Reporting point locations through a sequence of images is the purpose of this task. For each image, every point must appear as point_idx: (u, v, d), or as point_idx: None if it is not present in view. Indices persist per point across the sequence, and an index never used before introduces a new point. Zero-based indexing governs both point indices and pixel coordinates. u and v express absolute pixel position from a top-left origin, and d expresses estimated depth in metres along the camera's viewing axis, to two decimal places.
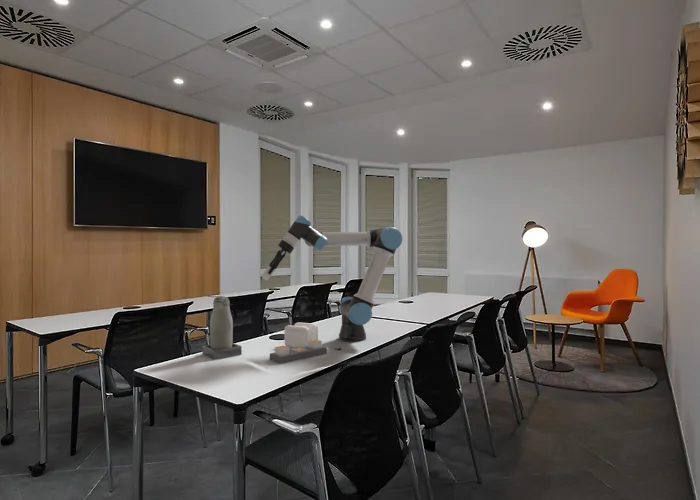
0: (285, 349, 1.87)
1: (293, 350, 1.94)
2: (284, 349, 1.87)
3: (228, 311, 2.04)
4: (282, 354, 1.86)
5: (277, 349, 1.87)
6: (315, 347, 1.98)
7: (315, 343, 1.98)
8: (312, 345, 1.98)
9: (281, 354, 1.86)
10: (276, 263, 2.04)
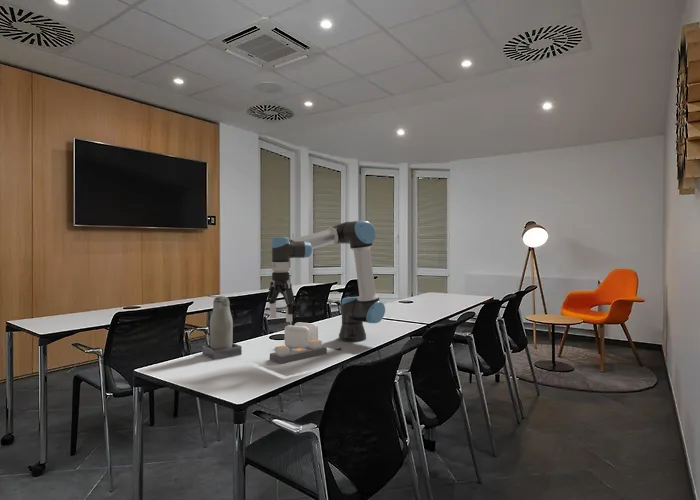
0: (285, 349, 1.87)
1: (293, 350, 1.94)
2: (284, 349, 1.87)
3: (228, 311, 2.04)
4: (282, 354, 1.86)
5: (277, 349, 1.87)
6: (315, 347, 1.98)
7: (315, 343, 1.98)
8: (312, 345, 1.98)
9: (281, 354, 1.86)
10: (292, 300, 1.82)
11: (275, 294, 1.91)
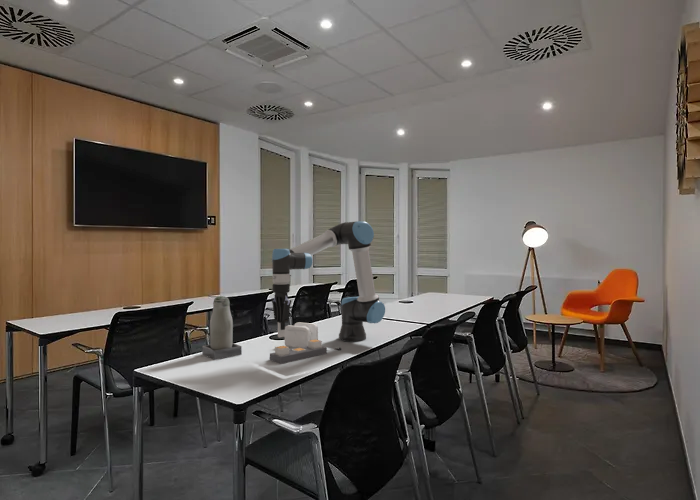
0: (285, 349, 1.87)
1: (293, 350, 1.94)
2: (284, 349, 1.87)
3: (228, 311, 2.04)
4: (282, 354, 1.86)
5: (277, 349, 1.87)
6: (315, 347, 1.98)
7: (315, 343, 1.98)
8: (312, 345, 1.98)
9: (281, 354, 1.86)
10: (286, 317, 1.85)
11: (279, 308, 1.89)
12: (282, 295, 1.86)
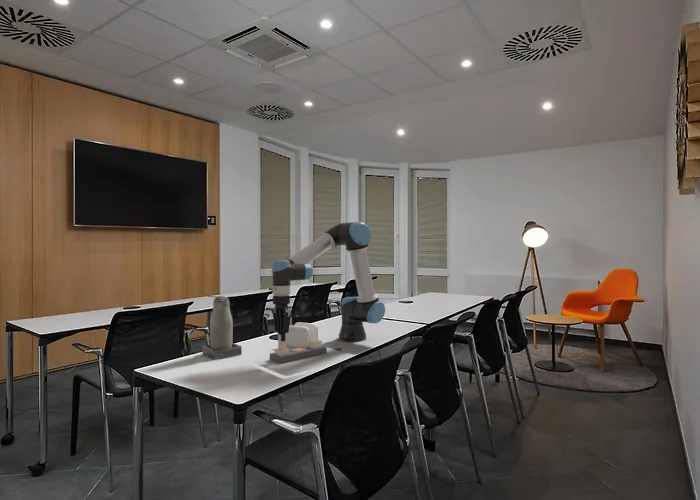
0: (285, 351, 1.87)
1: (293, 350, 1.94)
2: (284, 351, 1.87)
3: (228, 311, 2.04)
4: None
5: (277, 351, 1.87)
6: (315, 347, 1.98)
7: (315, 343, 1.98)
8: (312, 345, 1.98)
9: None
10: (286, 328, 1.86)
11: (279, 319, 1.89)
12: (282, 307, 1.86)
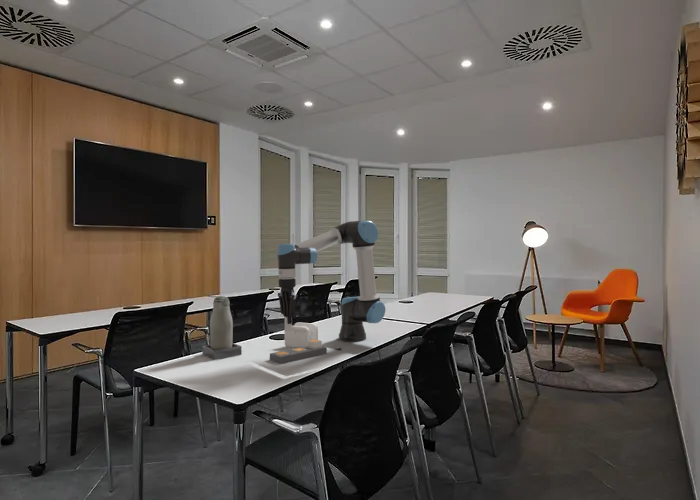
0: None
1: (293, 350, 1.94)
2: None
3: (228, 311, 2.04)
4: None
5: None
6: (315, 347, 1.98)
7: (315, 343, 1.98)
8: (312, 345, 1.98)
9: None
10: (293, 311, 1.88)
11: None
12: (288, 290, 1.88)
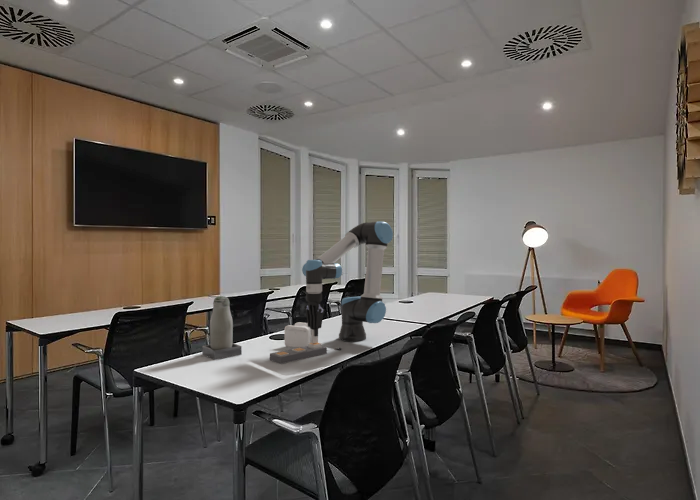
0: None
1: (293, 350, 1.94)
2: None
3: (228, 311, 2.04)
4: None
5: None
6: None
7: (315, 346, 1.98)
8: (312, 347, 1.98)
9: None
10: (319, 324, 1.97)
11: (312, 316, 2.01)
12: (316, 304, 1.98)
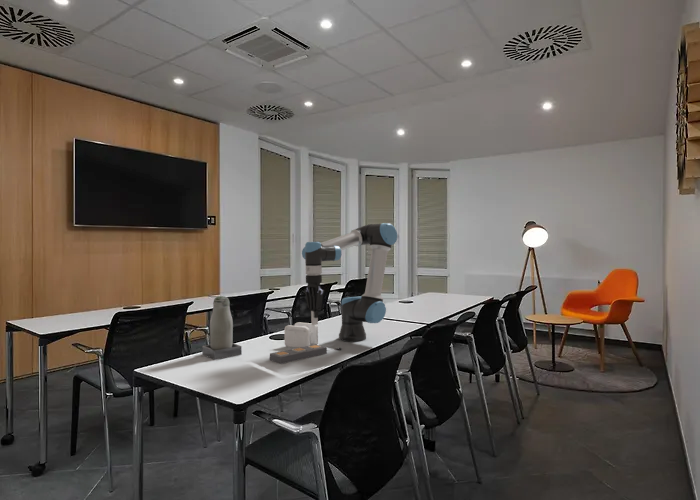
0: None
1: (293, 350, 1.94)
2: None
3: (228, 311, 2.04)
4: None
5: None
6: None
7: None
8: None
9: None
10: (319, 305, 1.98)
11: (312, 297, 2.01)
12: (315, 285, 1.98)
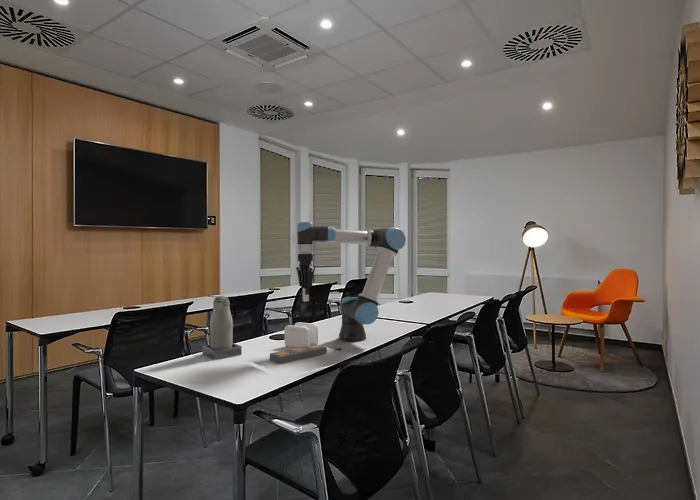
0: None
1: (293, 350, 1.94)
2: None
3: (228, 311, 2.04)
4: None
5: None
6: None
7: None
8: None
9: None
10: (310, 282, 2.08)
11: None
12: (306, 263, 2.08)
